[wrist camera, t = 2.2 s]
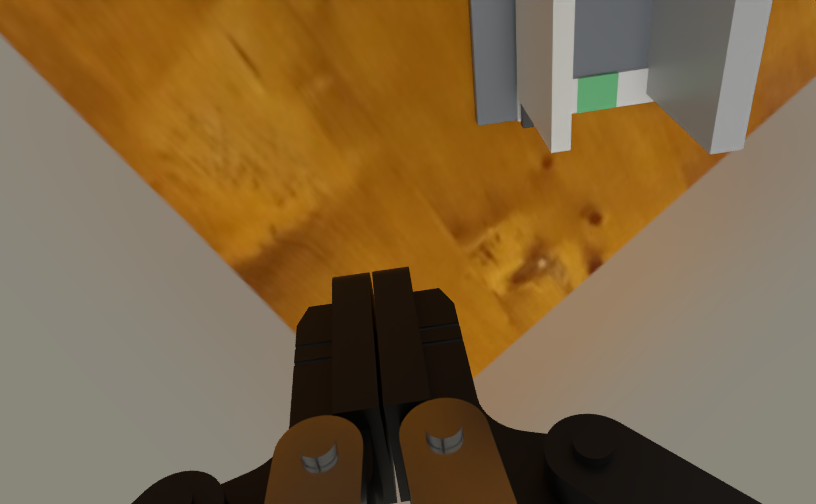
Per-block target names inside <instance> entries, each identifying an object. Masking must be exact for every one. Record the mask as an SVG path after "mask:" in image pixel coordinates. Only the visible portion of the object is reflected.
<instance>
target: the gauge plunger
mask: <svg viewBox="0 0 816 504" xmlns="http://www.w3.org/2000/svg"><path fill="white" fill-rule="evenodd" d="M574 24H575V0H516V53H517V98H518V99H519V101H520V103H521V125H522V127H523V128H529V127H534V126H535V127H536V129H537V130H538V132H539V134H540V135H541V137H542V139H543V140H544V142H545V143H546V145H547V147H548V148H549V150H550V152H551V153H554V152H561V151H567V150H571V118H572V87H573V55H574Z"/></svg>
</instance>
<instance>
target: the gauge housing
mask: <svg viewBox="0 0 816 504" xmlns="http://www.w3.org/2000/svg"><path fill="white" fill-rule="evenodd" d="M771 5H772V0H575V24H574V55H573V87H572V114H573V113H582V112H589V111H596V110H602V109H609V108H616V107H620V106H627V105H634V104H641V103H648V102H654V101H655V102H656V103H657V104H658V105H659V106H660V107H661V108H662V109H663V110H664V111H665V112H666V113H667V114H668V115H669V116H670V117H671V118H672V119H673V120H674V121H675V122H677V123H678V124H679V125H680V126H681V127H682V128H683V129H684V130H685V131H686V132H687V133H688V134H689V135H690V136H691V137H692V138H693V139H694V140H695V141H696V142H697V143H699V144H700V145H701V146H702V147H703V148H704V149H705V150H706V151H707V152H708V153H709V154H716V153H722V152H729V151H736V150H742V149H743V146H744V141H745V136H746V131H747V126H748V121H749V116H750V111H751V106H752V101H753V96H754V91H755V86H756V81H757V76H758V71H759V66H760V61H761V56H762V51H763V46H764V41H765V36H766V31H767V26H768V21H769V16H770V11H771ZM469 10H470V27H471V44H472V62H473V79H474V96H475V113H476V122H477V124H478V126H480V125H486V124H493V123H500V122H507V121H514V120H517V121H518V122H519V121H521V103H520V101H519V99H518V98H517V53H516V0H469Z"/></svg>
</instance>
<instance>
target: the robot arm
mask: <svg viewBox="0 0 816 504" xmlns="http://www.w3.org/2000/svg"><path fill="white" fill-rule="evenodd" d="M372 276H373V288H374V294H373V288H372V282H371V277H370V273H369V272H368V273H361V274H355V275H348V276H341V277H334V278H332V304H326V305H320V306H313V307H309V308H308V309H307V311H306V312H305V314H304V316H303V317H302V319H301V320H300V322H299V323H298V325H297V331H296V344H295V346H296V350H295V358H294V363H295V366H294V372H293V385H292V399H291V412H290V426H289V430H288V431H287V432H286V433H285V434H284V435H283V436H282V437H281V439H280V440H279V441H278V443H277V445H276V447H275V451H274V454H273V457H272V458H271V459H269V460H268V461H267V462H266V463H264V464H263V465H261V466H260V467H258V468H257V469H255V470H253V471H250V472H249V473H246V474H244V475H242V476H239V477H237V478H234V479H232V480H230V481H228V482H225V483H223V484H221V485H220V483H219V482H218V481H217V479H216V478H214V477H213V476H212V475H209V474H207V473H205V472H200V471H183V472H179V473H175V474H172V475H170V476H167V477H165V478H163V479H161V480H159V481H158V482H156V483H155V484H153V485H152V486H150V487H149V488H148V489H147V490H146V491H144V492H143V493H142V494H141V495H140V496H139V497H138V498H137V499H136V500H135V501H134V502H133V503H132V504H392V503H397V496H396V484H395V473H394V466H395V471H396V477H397V482H398V488H399V493H400V498H401V502H404V501H410V503H411V504H762V503H760V502H758V501H756V500H754V499H753V498H751V497H749V496H747V495H746V494H744V493H742V492H740V491H739V490H737V489H735V488H733V487H732V486H730V485H728V484H726V483H725V482H723V481H721V480H719V479H718V478H716V477H714V476H712V475H711V474H709V473H707V472H705V471H703V470H702V469H700V468H698V467H697V466H695V465H693V464H691V463H690V462H688V461H686V460H684V459H683V458H681V457H679V456H677V455H676V454H674V453H672V452H670V451H669V450H667V449H665V448H663V447H662V446H660V445H658V444H656V443H654V442H653V441H651V440H649V439H648V438H646V437H644V436H642V435H640V434H639V433H637V432H635V431H634V430H632V429H630V428H628V427H627V426H625V425H623V424H621V423H620V422H618V421H615V420H613V419H611V418H608V417H605V416H601V415H596V414H578V415H574V416H570V417H567V418H564V419H562V420H561V421H559V422H558V423H556V424H555V425H554V426H553V427H552V428H551V429H550V430H549V432H548V434H542V433H535V432H527V431H521V430H515V429H512V428H509V427H506V426H504V425H502V424H500V423H498V422H497V421H495V420H493V419H492V418H491V417H490V416H489V415H487V414H486V412H485V411H484V410H483V409H482V407H481V405H480V404H479V401H478V398H477V395H476V390H475V387H474V382H473V378H472V374H471V370H470V366H469V362H468V358H467V354H466V350H465V346H464V342H463V339H462V334H461V330H460V326H459V322H458V318H457V314H456V310H455V306H454V303H453V302H452V301H451V300H450V299H449V298H448V297H447V296H446V295H445V294H444V293H443V292H442V291H441V290H440V289H439V288H436V289H429V290H422V291H415V292H413V290H412V284H411V278H410V272H409V267H402V268H395V269H388V270H381V271H374V272H372ZM393 461H394V462H393Z"/></svg>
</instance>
